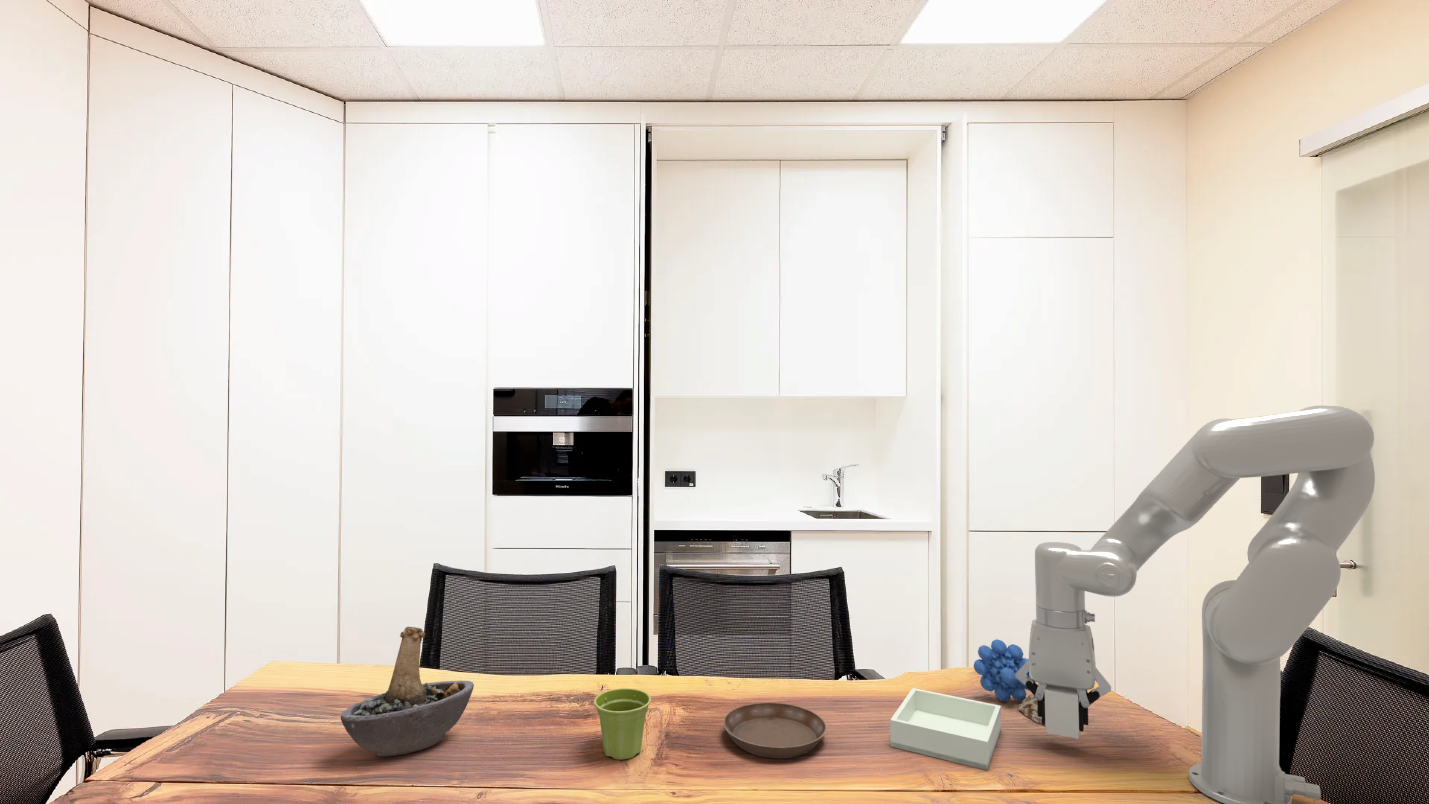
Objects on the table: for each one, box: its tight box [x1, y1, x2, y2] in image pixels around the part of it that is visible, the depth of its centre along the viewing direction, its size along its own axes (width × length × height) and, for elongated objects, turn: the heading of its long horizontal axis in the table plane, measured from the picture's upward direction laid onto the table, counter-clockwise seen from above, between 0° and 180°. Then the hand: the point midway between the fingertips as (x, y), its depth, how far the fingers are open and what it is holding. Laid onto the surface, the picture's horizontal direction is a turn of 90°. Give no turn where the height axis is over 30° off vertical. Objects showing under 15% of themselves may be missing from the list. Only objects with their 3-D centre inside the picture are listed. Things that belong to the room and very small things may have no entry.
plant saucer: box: [723, 702, 827, 759], centre depth 124 cm, size 18×18×3 cm
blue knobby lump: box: [973, 639, 1037, 702], centre depth 140 cm, size 12×7×12 cm, turn 82°
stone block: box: [1044, 684, 1081, 740], centre depth 122 cm, size 5×5×7 cm
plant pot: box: [593, 687, 652, 760], centre depth 119 cm, size 9×9×9 cm
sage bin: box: [889, 687, 1002, 771], centre depth 125 cm, size 16×16×4 cm
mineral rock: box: [1018, 693, 1045, 727], centre depth 135 cm, size 11×4×8 cm
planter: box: [340, 626, 475, 758], centre depth 119 cm, size 15×17×20 cm
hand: (1062, 723), depth 122 cm, fingers closed on stone block, 5 cm apart
